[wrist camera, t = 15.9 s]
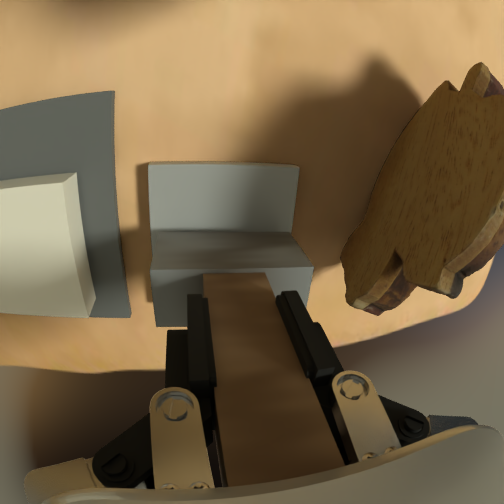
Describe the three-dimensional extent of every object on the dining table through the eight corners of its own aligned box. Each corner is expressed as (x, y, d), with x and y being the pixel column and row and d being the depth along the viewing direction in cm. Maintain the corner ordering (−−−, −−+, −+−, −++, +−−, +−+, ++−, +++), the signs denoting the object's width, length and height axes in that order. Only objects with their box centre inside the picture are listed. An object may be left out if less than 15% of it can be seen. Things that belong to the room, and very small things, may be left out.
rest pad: (295, 164, 17) (299, 168, 16) (277, 296, 21) (280, 303, 21) (150, 161, 16) (148, 164, 15) (158, 300, 20) (157, 307, 19)
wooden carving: (365, 280, 22) (441, 377, 13) (315, 265, 21) (387, 378, 12) (457, 83, 16) (574, 107, 7) (414, 45, 14) (543, 47, 6)
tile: (62, 182, 12) (88, 318, 16) (78, 171, 14) (97, 295, 18) (-64, 199, 11) (-30, 309, 14) (-44, 187, 13) (-17, 291, 16)
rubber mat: (114, 90, 13) (112, 90, 13) (131, 312, 20) (130, 317, 19) (-62, 129, 11) (-67, 131, 10) (-22, 305, 17) (-25, 309, 17)
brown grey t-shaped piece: (289, 231, 17) (458, 498, 4) (282, 278, 18) (402, 532, 5) (158, 231, 16) (121, 572, 3) (161, 281, 17) (153, 579, 4)
